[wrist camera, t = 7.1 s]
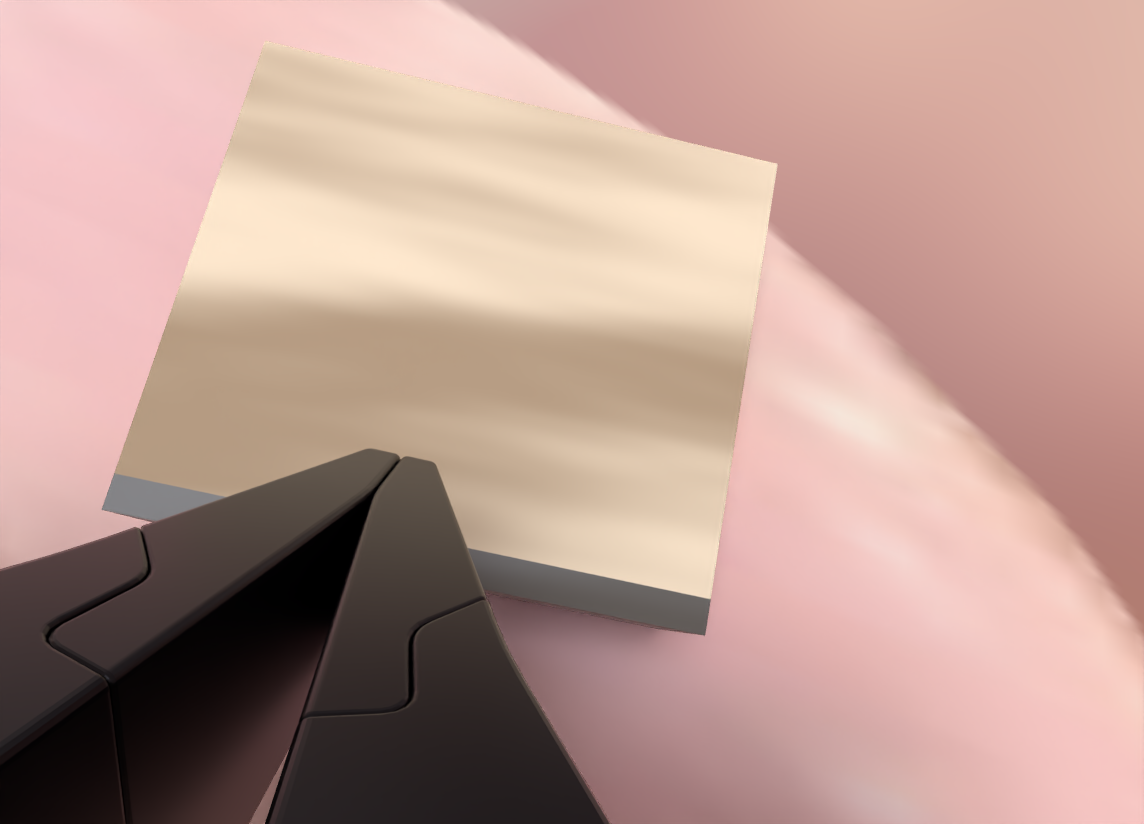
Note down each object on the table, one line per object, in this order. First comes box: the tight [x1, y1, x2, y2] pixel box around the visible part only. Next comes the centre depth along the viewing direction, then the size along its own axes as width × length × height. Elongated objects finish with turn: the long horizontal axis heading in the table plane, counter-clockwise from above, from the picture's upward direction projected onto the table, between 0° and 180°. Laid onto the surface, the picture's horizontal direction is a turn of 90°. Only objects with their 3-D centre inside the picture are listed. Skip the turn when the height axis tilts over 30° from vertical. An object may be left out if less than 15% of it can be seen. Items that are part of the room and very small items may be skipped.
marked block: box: [102, 41, 777, 635], centre depth 16 cm, size 4×10×9 cm
